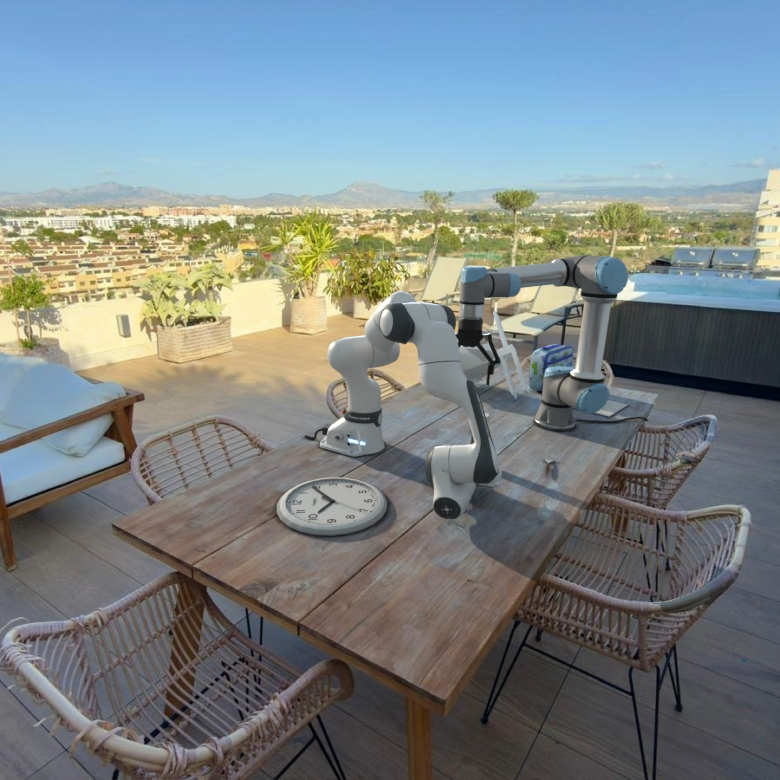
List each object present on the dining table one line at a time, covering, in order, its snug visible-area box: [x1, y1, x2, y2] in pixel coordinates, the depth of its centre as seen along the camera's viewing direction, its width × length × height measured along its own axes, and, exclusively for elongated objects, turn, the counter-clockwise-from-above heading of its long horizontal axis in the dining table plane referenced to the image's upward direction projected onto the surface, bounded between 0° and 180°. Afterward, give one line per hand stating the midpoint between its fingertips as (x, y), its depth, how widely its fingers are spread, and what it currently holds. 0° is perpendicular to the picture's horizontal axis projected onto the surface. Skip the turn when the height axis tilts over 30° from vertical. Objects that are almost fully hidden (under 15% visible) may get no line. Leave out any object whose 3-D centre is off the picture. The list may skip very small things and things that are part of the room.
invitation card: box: [594, 399, 629, 418], centre depth 226 cm, size 21×1×15 cm
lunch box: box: [528, 343, 574, 392], centre depth 248 cm, size 26×11×21 cm, turn 134°
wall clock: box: [276, 476, 388, 537], centre depth 142 cm, size 30×2×30 cm
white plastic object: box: [457, 310, 531, 400], centre depth 245 cm, size 37×45×31 cm
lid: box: [485, 412, 490, 423], centre depth 164 cm, size 5×5×2 cm
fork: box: [544, 451, 555, 476], centre depth 168 cm, size 3×16×2 cm, turn 160°
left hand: (470, 461), depth 156 cm, fingers open, 8 cm apart
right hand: (466, 383), depth 169 cm, fingers open, 13 cm apart
